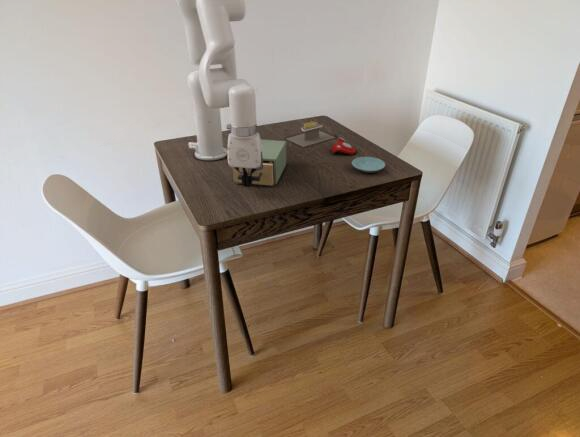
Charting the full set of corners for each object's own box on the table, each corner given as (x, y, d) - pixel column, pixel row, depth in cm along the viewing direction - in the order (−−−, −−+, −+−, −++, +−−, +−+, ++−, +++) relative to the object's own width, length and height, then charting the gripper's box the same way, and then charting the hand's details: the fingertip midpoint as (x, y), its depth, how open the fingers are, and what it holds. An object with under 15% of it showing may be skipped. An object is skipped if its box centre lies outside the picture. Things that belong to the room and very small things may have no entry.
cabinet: (276, 184, 143) (275, 159, 138) (234, 180, 145) (232, 156, 141) (286, 164, 157) (286, 141, 152) (247, 161, 159) (246, 138, 154)
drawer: (269, 192, 136) (268, 171, 132) (229, 188, 138) (227, 168, 135) (282, 166, 153) (282, 147, 149) (246, 163, 155) (245, 144, 152)
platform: (285, 138, 179) (285, 123, 176) (317, 129, 189) (317, 115, 185) (303, 147, 171) (303, 131, 168) (335, 137, 181) (336, 122, 177)
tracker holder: (361, 150, 165) (342, 149, 160) (356, 159, 168) (338, 159, 162) (343, 134, 173) (325, 133, 167) (339, 143, 175) (321, 143, 169)
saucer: (384, 177, 148) (385, 171, 146) (350, 174, 149) (351, 168, 148) (384, 163, 158) (384, 157, 156) (351, 161, 159) (352, 155, 158)
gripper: (215, 132, 123) (220, 188, 133) (265, 135, 121) (267, 192, 130) (223, 123, 129) (228, 178, 139) (271, 126, 127) (273, 182, 136)
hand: (247, 185), depth 135 cm, fingers closed
